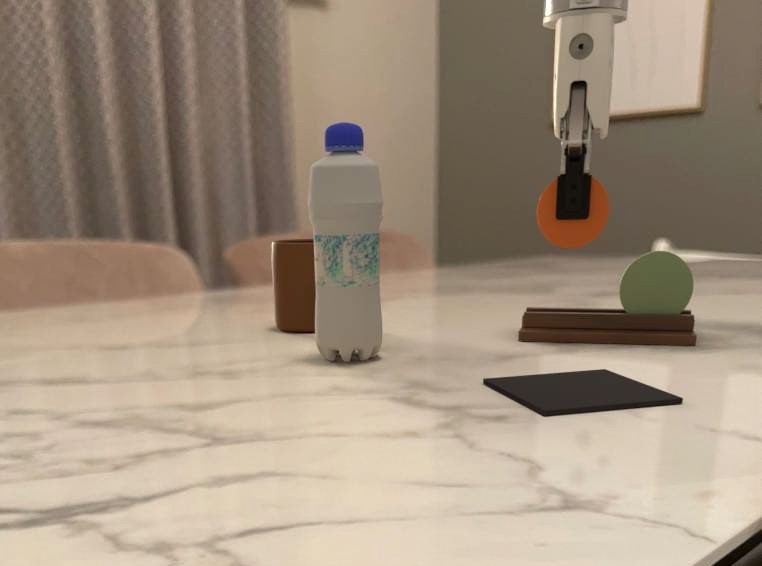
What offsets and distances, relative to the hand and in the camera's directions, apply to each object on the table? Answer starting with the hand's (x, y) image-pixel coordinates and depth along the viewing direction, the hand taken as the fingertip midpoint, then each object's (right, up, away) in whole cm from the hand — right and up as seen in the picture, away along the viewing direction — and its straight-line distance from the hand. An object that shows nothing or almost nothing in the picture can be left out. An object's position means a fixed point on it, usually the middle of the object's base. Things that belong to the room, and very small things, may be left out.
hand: (572, 217), depth 85 cm
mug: (-25, -8, +12) cm, 29 cm away
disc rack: (+4, -11, +3) cm, 12 cm away
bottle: (-22, -15, -5) cm, 27 cm away
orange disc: (0, -3, +1) cm, 3 cm away
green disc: (+9, -10, +2) cm, 13 cm away
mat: (-5, -21, -20) cm, 29 cm away
